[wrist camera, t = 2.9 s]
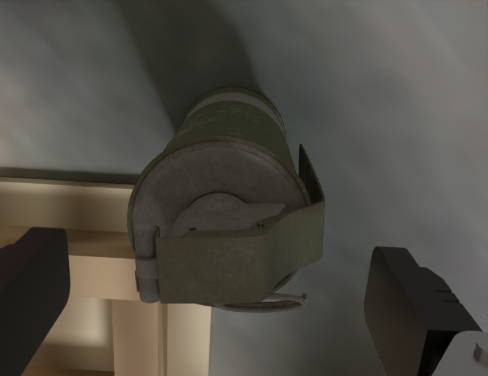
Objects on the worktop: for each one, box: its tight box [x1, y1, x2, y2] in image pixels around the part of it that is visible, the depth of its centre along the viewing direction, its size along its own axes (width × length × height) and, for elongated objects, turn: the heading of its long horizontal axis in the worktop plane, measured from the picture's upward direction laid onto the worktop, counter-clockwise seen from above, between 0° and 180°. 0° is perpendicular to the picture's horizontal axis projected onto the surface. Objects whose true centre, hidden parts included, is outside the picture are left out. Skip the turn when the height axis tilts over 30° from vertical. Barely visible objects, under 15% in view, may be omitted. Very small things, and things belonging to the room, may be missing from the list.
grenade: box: [127, 87, 325, 313], centre depth 19 cm, size 6×6×15 cm
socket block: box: [0, 177, 212, 376], centre depth 28 cm, size 18×18×4 cm
